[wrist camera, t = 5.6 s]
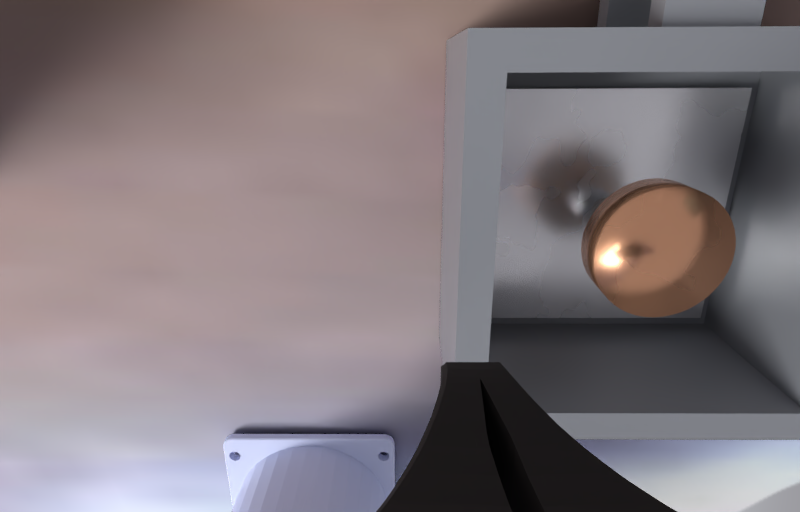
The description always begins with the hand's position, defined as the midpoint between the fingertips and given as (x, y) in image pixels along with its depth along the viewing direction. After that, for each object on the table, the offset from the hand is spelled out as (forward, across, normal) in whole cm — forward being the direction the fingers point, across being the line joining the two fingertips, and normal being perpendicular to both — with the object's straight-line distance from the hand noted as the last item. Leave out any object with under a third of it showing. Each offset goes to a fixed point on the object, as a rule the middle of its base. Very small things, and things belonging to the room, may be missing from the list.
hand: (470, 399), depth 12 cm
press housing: (+10, -6, -3) cm, 12 cm away
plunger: (+9, -6, -2) cm, 11 cm away
